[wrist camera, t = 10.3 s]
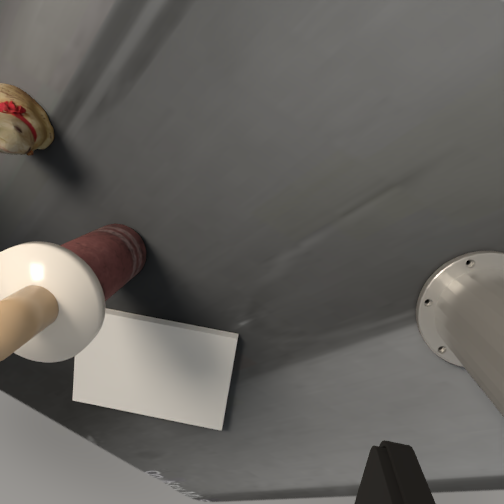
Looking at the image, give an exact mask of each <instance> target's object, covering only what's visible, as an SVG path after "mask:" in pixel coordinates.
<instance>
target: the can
mask: <svg viewBox="0 0 504 504" xmlns="http://www.w3.org/2000/svg"><path fill="white" fill-rule="evenodd" d="M60 246H62V247H65V248H67V249H68V250H70V251H72V252H74V253H75V254H76V255H78V256H79V257H80V258H82V259H83V260H84V261H85V262H86V263H87V264H88V265H89V266H90V268H91V269H92V270H93V272H94V273H95V274H96V276H97V278H98V280H99V282H100V284H101V287H102V289H103V293H104V297H105V301H106V300H107V299H109V298H110V297H111V296H112V295H113V294H114V293H116V292H117V291H118V290H119V289H120V288H121V287H123V286H124V285H125V284H126V283H127V282H129V281H130V280H131V279H132V278H133V277H134V276H136V275H137V274H138V273H139V272H140V271H141V269H142V268H143V266H144V264H145V261H146V248H145V244H144V242H143V240H142V239H141V237H140V236H139V234H138V233H136V232H135V231H134V230H133V229H132V228H129V227H127V226H125V225H121V224H111V225H106V226H104V227H101V228H99V229H97V230H95V231H92V232H90V233H88V234H85V235H83V236H81V237H79V238H76V239H74V240H72V241H69V242H67V243H65V244H62V245H60Z"/></svg>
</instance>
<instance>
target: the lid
mask: <svg viewBox="0 0 504 504" xmlns="http://www.w3.org/2000/svg"><path fill="white" fill-rule="evenodd" d="M104 318H105V297H104V293H103V289H102V287H101V284H100V282H99V280H98V278H97V276H96V274H95V273H94V272H93V270H92V269H91V268H90V266H89V265H88V264H87V263H86V262H85V261H84V260H83V259H82V258H80V257H79V256H78V255H76V254H75V253H74V252H72V251H70V250H68V249H67V248H65V247H62V246H60V245H57V244H53V243H49V242H42V241H33V242H26V243H23V244H19V245H16V246H14V247H11V248H8V249H6V250H4V251H2V252H0V361H2V360H4V359H5V358H7V357H8V356H9V355H11V354H12V353H13V352H14V353H16V354H17V355H19V356H21V357H24V358H27V359H29V360H33V361H38V362H59V361H63V360H67V359H69V358H72V357H73V356H75V355H77V354H78V353H80V352H81V351H82V350H83V349H85V348H86V347H87V346H88V345H89V344H90V343H91V342H92V340H93V339H94V338H95V337H96V336H97V334H98V333H99V331H100V329H101V327H102V325H103V321H104Z"/></svg>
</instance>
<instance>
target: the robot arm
mask: <svg viewBox="0 0 504 504" xmlns="http://www.w3.org/2000/svg"><path fill="white" fill-rule="evenodd" d="M468 260H469V262H468V263H467V264H466V262H467V261H468ZM427 299H428V301H427V302H425V300H427ZM416 321H417V325H418V329H419V332H420V334H421V336H422V337H423V339H424V341H425V342H426V344H427V345H428V346H429V348H430V349H431V350H432V351H433V352H434V353H435V354H436V355H437V356H439V357H440V358H442V359H443V360H445V361H447V362H449V363H451V364H454V365H457V366H460V367H464V368H465V369H466V370H467V371H468V373H469V374H470V375H471V376H472V378H473V379H474V380H475V381H476V383H477V384H478V385H479V387H480V388H481V389H482V390H483V392H484V393H485V394H486V395H487V397H488V398H489V399H490V400H491V402H492V403H493V404H494V405H495V407H496V408H497V409H498V410H499V412H500V413H501V414H502V416H503V417H504V253H502V252H497V251H477V252H471V253H467V254H464V255H461V256H458V257H456V258H454V259H452V260H450V261H448V262H447V263H445V264H444V265H442V266H441V267H440V268H439V269H437V270H436V271H435V272H434V273H433V274H432V275H431V277H430V278H429V279H428V280H427V281H426V283H425V285H424V286H423V288H422V290H421V292H420V295H419V298H418V301H417V307H416ZM439 347H440V348H439ZM355 504H435V501H434V499H433V496H432V494H431V492H430V489H429V487H428V484H427V482H426V479H425V477H424V474H423V472H422V470H421V467H420V465H419V462H418V460H417V457H416V455H415V452H414V450H413V449H412V447H411V446H409V445H404V444H399V443H394V442H390V441H382V442H381V444H380V446H379V447H378V446H373V447H372V448H371V450H370V453H369V457H368V460H367V463H366V467H365V470H364V474H363V477H362V480H361V484H360V487H359V490H358V494H357V497H356V501H355Z"/></svg>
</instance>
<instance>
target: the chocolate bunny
mask: <svg viewBox="0 0 504 504" xmlns="http://www.w3.org/2000/svg"><path fill="white" fill-rule="evenodd" d="M53 140H54V129H53V127H52V126H51V124H50V122H49V119H48V116H47V114H46V112H45V111H44V109H43V108H42V107H41V106H40V105H39V104H38V103H37V102H36V101H35V100H34V99H32V98H31V97H30V96H29V95H28V94H27V93H26V92H24V91H23V90H21V89H20V88H18V87H15V86H12V85H8V84H2V83H0V153H5V154H20V155H22V154H27V155H33V151H34V150H36V149H46V148H47V147H48V146H49V145H50V144H51V143H52V142H53Z"/></svg>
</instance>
